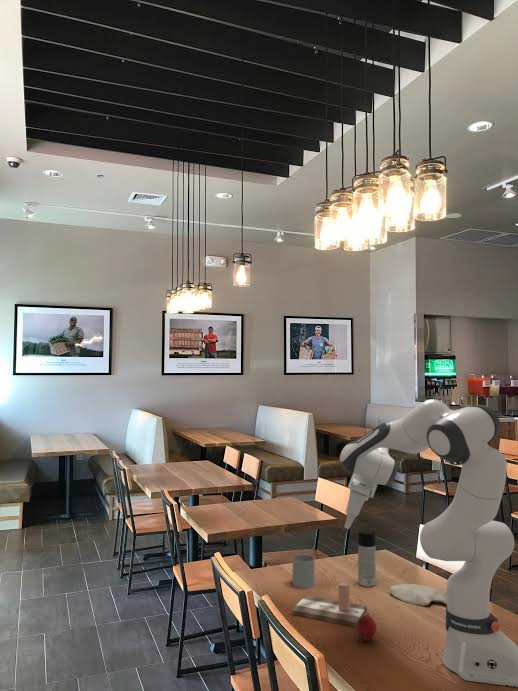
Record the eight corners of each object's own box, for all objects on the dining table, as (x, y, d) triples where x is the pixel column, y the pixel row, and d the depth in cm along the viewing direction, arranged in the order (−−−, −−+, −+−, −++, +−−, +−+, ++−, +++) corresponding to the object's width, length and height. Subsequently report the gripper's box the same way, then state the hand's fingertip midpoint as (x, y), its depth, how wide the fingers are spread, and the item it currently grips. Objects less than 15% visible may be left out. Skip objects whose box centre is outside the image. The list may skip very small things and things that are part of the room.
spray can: (378, 583, 213) (377, 530, 215) (372, 588, 207) (371, 534, 209) (362, 579, 217) (361, 528, 218) (355, 585, 211) (355, 531, 212)
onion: (372, 647, 161) (372, 618, 161) (353, 642, 164) (353, 614, 164) (379, 639, 166) (378, 612, 166) (361, 634, 169) (360, 607, 169)
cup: (313, 589, 206) (313, 562, 207) (291, 587, 208) (291, 560, 209) (315, 581, 214) (315, 555, 215) (294, 580, 216) (294, 554, 217)
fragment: (451, 610, 189) (449, 595, 189) (391, 612, 193) (390, 597, 193) (445, 589, 203) (443, 576, 203) (389, 592, 207) (388, 578, 207)
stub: (349, 608, 184) (349, 583, 184) (347, 611, 181) (347, 586, 182) (340, 606, 185) (340, 582, 185) (338, 609, 183) (338, 584, 183)
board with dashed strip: (367, 610, 187) (367, 605, 187) (356, 627, 174) (356, 621, 174) (306, 599, 196) (306, 594, 196) (292, 614, 183) (292, 609, 183)
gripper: (354, 484, 196) (340, 521, 194) (351, 483, 177) (336, 525, 175) (371, 491, 194) (357, 529, 192) (370, 491, 175) (354, 533, 173)
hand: (347, 527), depth 183 cm, fingers open, 8 cm apart
